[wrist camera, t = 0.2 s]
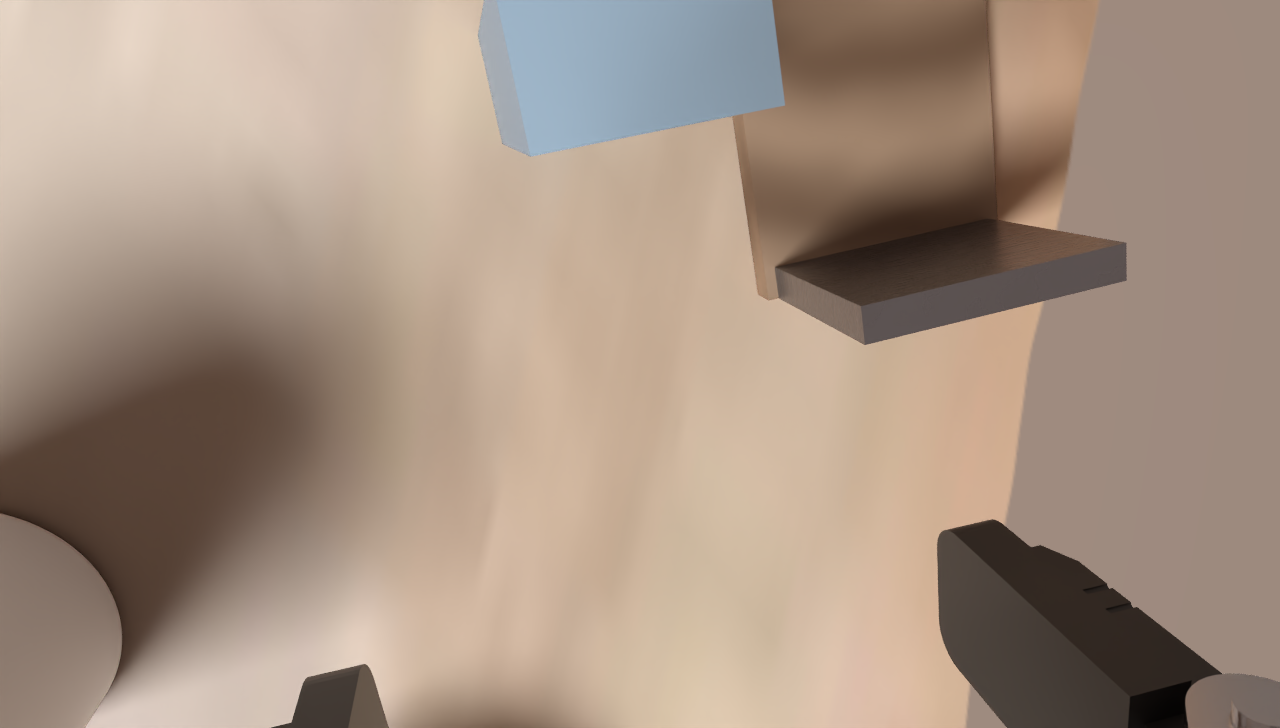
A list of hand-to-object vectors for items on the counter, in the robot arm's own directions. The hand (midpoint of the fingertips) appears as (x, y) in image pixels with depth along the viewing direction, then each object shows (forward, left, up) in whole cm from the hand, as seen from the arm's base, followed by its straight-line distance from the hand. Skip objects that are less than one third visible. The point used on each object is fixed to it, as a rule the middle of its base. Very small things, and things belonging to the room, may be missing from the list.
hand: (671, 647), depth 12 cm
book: (-8, +4, -29) cm, 30 cm away
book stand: (-7, +17, -29) cm, 34 cm away
